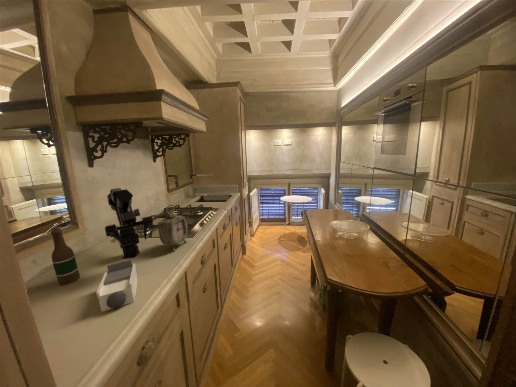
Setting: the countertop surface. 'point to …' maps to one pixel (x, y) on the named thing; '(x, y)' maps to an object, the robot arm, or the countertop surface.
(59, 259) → the beer bottle
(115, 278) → the door
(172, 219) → the tabletop clock
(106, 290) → the white open box
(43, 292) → the countertop surface
